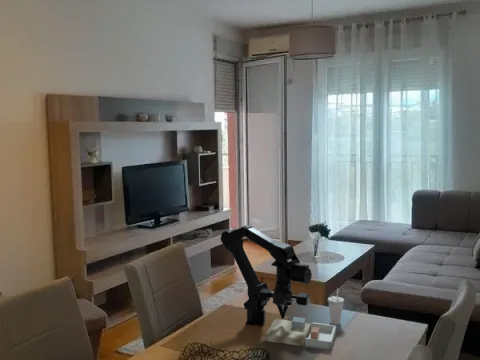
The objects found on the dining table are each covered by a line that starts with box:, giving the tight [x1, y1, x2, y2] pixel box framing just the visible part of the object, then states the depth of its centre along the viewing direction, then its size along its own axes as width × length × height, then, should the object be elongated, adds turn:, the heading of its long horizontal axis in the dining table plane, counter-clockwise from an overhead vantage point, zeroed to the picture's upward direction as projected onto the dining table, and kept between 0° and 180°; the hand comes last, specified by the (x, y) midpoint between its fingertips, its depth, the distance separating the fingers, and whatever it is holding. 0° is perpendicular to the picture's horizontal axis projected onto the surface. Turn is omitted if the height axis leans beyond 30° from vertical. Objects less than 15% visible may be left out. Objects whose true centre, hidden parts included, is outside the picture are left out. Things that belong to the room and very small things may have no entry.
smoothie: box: [327, 287, 345, 325], centre depth 196 cm, size 6×6×14 cm
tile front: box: [310, 326, 320, 339], centre depth 178 cm, size 4×4×2 cm
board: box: [264, 318, 312, 347], centre depth 185 cm, size 14×15×2 cm
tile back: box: [291, 316, 307, 329], centre depth 187 cm, size 4×4×2 cm
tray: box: [304, 322, 337, 351], centre depth 181 cm, size 9×15×3 cm, turn 162°
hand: (282, 318), depth 189 cm, fingers closed
